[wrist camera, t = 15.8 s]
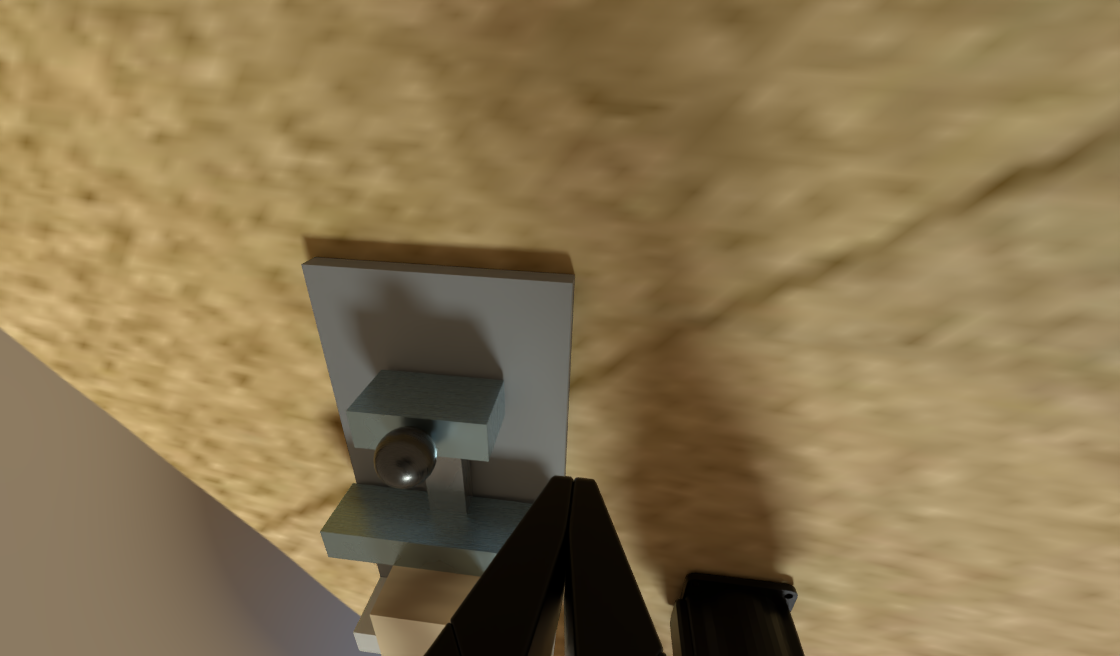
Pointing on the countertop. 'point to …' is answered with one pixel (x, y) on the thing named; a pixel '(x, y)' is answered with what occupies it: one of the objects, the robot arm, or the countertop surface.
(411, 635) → the oak block
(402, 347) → the vise bed
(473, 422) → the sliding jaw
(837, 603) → the countertop surface
